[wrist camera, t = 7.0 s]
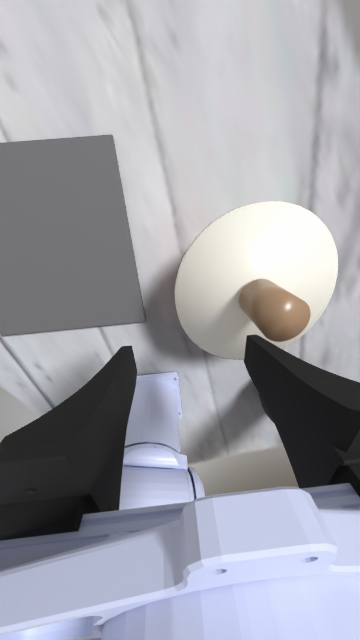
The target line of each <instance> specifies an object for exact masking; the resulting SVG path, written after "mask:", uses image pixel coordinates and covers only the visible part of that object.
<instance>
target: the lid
mask: <svg viewBox="0 0 360 640" xmlns="http://www.w3.org/2000/svg"><path fill="white" fill-rule="evenodd" d="M337 273H338V256H337V250H336V246H335V243H334V240H333V238H332V235H331V233H330V232H329V230H328V229H327V227H326V226H325V224H324V223H323V222H322V221H321V220H320V219H319V218H318V217H317V216H315V215H314V214H313V213H311V212H310V211H308V210H306V209H304V208H302V207H300V206H297V205H294V204H291V203H286V202H277V201H273V202H260V203H254V204H249V205H245V206H242V207H239V208H236V209H233V210H231V211H230V212H228V213H226V214H224V215H222V216H220V217H219V218H217V219H216V220H215V221H213V222H212V223H210V224H209V225H208V226H207V227H206V228H205V229H204V230H203V231H202V232H201V233H200V234H199V235H198V236H197V237H196V238H195V240H194V241H193V242H192V244H191V245H190V247H189V248H188V250H187V251H186V253H185V255H184V257H183V259H182V261H181V264H180V267H179V269H178V272H177V277H176V282H175V305H176V310H177V315H178V318H179V321H180V324H181V326H182V327H183V329H184V331H185V333H186V334H187V335H188V337H189V338H190V339H191V340H192V341H193V342H194V343H195V344H196V345H197V346H199V347H200V348H201V349H203V350H205V351H206V352H208V353H210V354H213V355H215V356H218V357H222V358H226V359H233V360H244V355H245V346H246V338H247V335H255V334H257V335H259V336H260V337H262V338H264V339H266V340H267V341H269V342H271V343H272V344H274V345H276V346H277V347H279V348H281V349H283V348H285V347H287V346H289V345H290V344H292V343H293V342H295V341H296V340H297V339H299V338H300V337H301V336H303V335H304V334H305V333H306V332H307V331H308V330H309V329H310V328H311V327H312V326H313V325H314V324H315V322H316V321H317V320H318V319H319V317H320V316H321V315H322V313H323V311H324V310H325V308H326V306H327V305H328V303H329V301H330V298H331V296H332V294H333V291H334V288H335V284H336V279H337Z"/></svg>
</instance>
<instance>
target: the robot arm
mask: <svg viewBox="0 0 360 640" xmlns="http://www.w3.org/2000/svg"><path fill="white" fill-rule="evenodd" d="M244 363H245V365H246V368H247V371H248V373H249V375H250V377H251V379H252V381H253V383H254V385H255V386H256V388H257V390H258V392H259V393H260V395H261V397H262V399H263V401H264V402H265V404H266V406H267V408H268V410H269V412H270V414H271V416H272V419H273V421H274V423H275V425H276V428H277V430H278V433H279V435H280V437H281V440H282V442H283V445H284V447H285V450H286V453H287V455H288V458H289V460H290V463H291V466H292V468H293V471H294V474H295V477H296V480H297V483H298V486H299V488H298V487H276V488H267V489H259V490H251V491H242V492H234V493H225V494H217V495H210V496H205V493H204V488H203V484H202V481H201V479H200V477H199V476H198V474H197V472H196V470H195V469H194V468H192V467H188V464H187V455H183V454H181V444H180V430H179V420H181V419H182V409H181V400H180V391H179V381H178V374H177V373H176V372H168V373H159V374H150V375H140V376H137V368H136V364H135V359H134V354H133V350H132V346H123V347H121V348H120V349H119V350H118V351H117V352H116V354H115V355H114V356H113V357H112V358H111V359H110V360H109V362H108V363H107V364H106V365H105V366H104V367H103V368H102V369H101V370H100V371H99V372H98V373H97V374H96V375H95V376H94V377H93V378H92V379H91V380H90V381H89V382H88V383H87V384H85V385H84V386H83V387H82V388H81V389H79V390H78V391H77V392H76V393H75V394H73V395H72V396H70V397H69V398H68V399H66V400H65V401H64V402H62V403H61V404H60V405H58V406H57V407H55V408H54V409H52V410H51V411H49V412H48V413H46V414H44V415H43V416H41V417H40V418H38V419H36V420H35V421H33V422H31V423H29V424H28V425H26V426H24V427H22V428H21V429H18V430H17V431H15V432H13V433H12V434H9V435H8V436H6V437H4V439H3V440H2V441H1V443H0V640H360V383H359V382H356V381H353V380H350V379H347V378H344V377H341V376H338V375H336V374H333V373H330V372H328V371H325V370H323V369H320V368H318V367H316V366H313V365H311V364H309V363H307V362H305V361H303V360H301V359H299V358H297V357H295V356H293V355H291V354H289V353H288V352H286V351H284V350H282V349H281V348H279V347H277V346H276V345H274V344H272V343H271V342H269V341H267V340H266V339H264V338H262V337H260V336H259V335H257V334H255V335H247V338H246V346H245V355H244ZM173 378H175V379H173Z"/></svg>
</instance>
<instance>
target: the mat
mask: <svg viewBox="0 0 360 640" xmlns="http://www.w3.org/2000/svg"><path fill="white" fill-rule="evenodd" d="M145 321H146V319H145V313H144V308H143V302H142V296H141V291H140V285H139V280H138V274H137V268H136V263H135V257H134V252H133V246H132V240H131V235H130V229H129V223H128V218H127V212H126V207H125V201H124V195H123V190H122V184H121V178H120V173H119V167H118V162H117V156H116V150H115V145H114V139H113V136H112V135H101V136H87V137H74V138H60V139H46V140H33V141H19V142H6V143H0V335H1V336H5V335H15V334H25V333H35V332H45V331H55V330H66V329H76V328H86V327H96V326H106V325H116V324H126V323H136V322H145Z"/></svg>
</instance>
